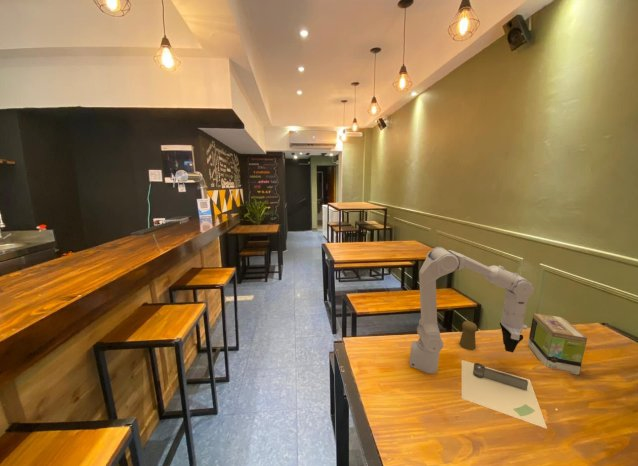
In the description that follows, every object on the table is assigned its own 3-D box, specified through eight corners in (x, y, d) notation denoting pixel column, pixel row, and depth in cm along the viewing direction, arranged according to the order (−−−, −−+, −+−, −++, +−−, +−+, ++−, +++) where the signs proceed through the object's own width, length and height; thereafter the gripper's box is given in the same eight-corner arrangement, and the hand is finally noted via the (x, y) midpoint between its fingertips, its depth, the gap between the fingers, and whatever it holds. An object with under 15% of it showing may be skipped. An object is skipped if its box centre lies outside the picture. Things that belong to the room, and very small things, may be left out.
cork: (478, 353, 99) (481, 328, 97) (461, 351, 101) (464, 326, 99) (472, 344, 105) (475, 320, 103) (456, 342, 106) (459, 318, 104)
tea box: (580, 376, 88) (589, 337, 85) (545, 369, 91) (552, 331, 88) (556, 350, 102) (563, 316, 99) (526, 345, 105) (532, 312, 102)
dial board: (461, 401, 77) (461, 398, 77) (461, 362, 94) (461, 359, 94) (546, 431, 68) (547, 428, 68) (529, 382, 85) (529, 379, 85)
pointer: (473, 375, 86) (474, 367, 85) (472, 369, 89) (473, 361, 88) (527, 392, 79) (529, 383, 79) (525, 385, 82) (526, 377, 81)
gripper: (534, 324, 76) (527, 364, 78) (524, 305, 88) (518, 340, 91) (505, 318, 79) (500, 357, 82) (499, 300, 92) (494, 334, 94)
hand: (508, 347), depth 86 cm, fingers open, 3 cm apart
